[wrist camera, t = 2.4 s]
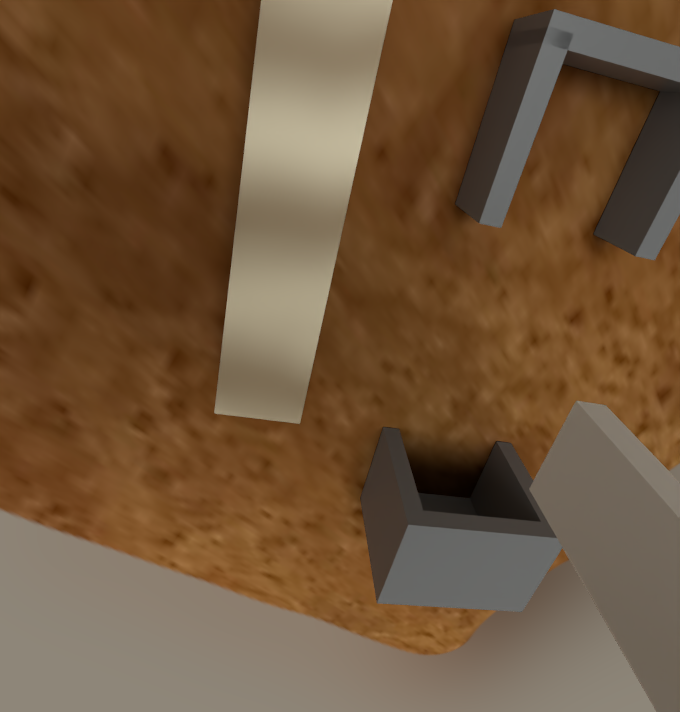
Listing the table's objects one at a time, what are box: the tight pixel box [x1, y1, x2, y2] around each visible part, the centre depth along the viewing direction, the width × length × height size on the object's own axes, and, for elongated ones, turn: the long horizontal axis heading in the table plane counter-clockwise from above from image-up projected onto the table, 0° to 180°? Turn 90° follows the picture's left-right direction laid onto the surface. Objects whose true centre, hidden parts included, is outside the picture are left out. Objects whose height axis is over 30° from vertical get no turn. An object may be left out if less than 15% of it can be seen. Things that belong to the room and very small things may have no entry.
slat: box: [214, 0, 393, 424], centre depth 21 cm, size 18×4×5 cm, turn 168°
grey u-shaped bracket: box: [455, 9, 680, 260], centre depth 21 cm, size 8×8×4 cm
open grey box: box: [360, 427, 562, 612], centre depth 29 cm, size 8×6×8 cm
